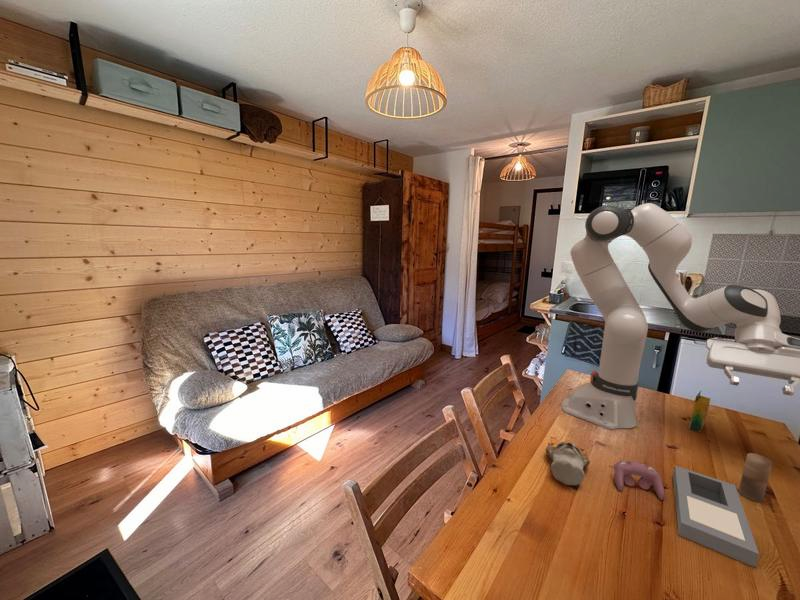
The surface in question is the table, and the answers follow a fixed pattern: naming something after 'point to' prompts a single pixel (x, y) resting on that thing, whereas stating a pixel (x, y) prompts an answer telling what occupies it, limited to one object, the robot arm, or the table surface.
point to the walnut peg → (755, 477)
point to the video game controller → (634, 468)
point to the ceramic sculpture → (567, 463)
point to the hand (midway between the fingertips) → (760, 389)
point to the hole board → (713, 515)
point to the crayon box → (699, 413)
